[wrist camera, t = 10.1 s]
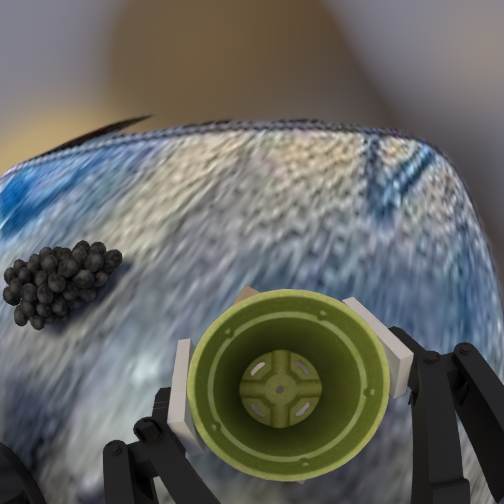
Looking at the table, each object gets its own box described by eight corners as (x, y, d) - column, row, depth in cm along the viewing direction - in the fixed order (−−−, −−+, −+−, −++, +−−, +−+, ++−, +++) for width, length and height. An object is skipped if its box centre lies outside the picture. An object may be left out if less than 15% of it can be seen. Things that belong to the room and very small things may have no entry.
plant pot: (276, 304, 22) (283, 252, 14) (366, 378, 18) (423, 366, 11) (192, 388, 19) (147, 383, 11) (283, 469, 16) (295, 514, 8)
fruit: (92, 201, 22) (-13, 263, 19) (117, 287, 21) (3, 340, 18) (120, 228, 30) (28, 275, 27) (143, 294, 29) (45, 336, 26)
